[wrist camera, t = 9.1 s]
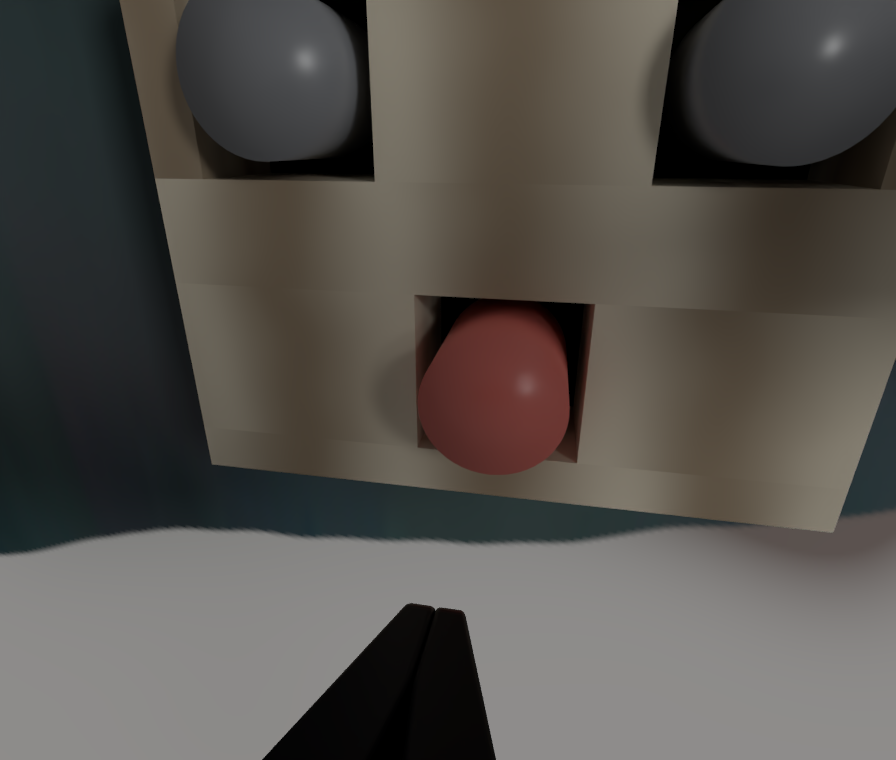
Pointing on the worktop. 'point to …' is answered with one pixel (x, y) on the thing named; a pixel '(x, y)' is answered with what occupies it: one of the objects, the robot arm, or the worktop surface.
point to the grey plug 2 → (783, 79)
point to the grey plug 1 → (276, 77)
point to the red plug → (498, 388)
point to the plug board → (532, 270)
